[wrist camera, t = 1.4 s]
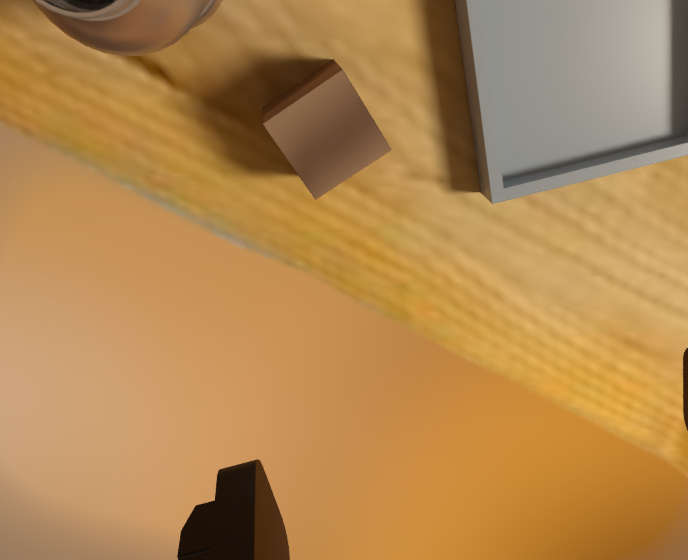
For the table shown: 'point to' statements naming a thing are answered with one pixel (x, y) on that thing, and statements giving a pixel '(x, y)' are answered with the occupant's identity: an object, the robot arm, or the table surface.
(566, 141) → the tray
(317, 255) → the table surface
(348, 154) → the walnut block
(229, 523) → the robot arm
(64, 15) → the plastic bottle
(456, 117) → the table surface
